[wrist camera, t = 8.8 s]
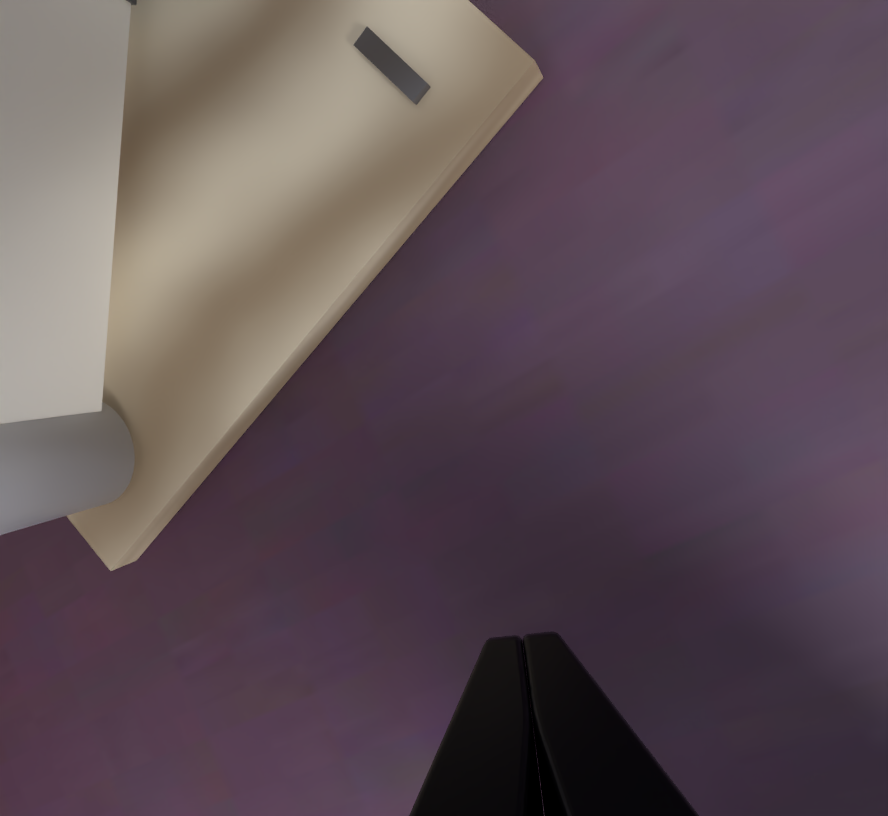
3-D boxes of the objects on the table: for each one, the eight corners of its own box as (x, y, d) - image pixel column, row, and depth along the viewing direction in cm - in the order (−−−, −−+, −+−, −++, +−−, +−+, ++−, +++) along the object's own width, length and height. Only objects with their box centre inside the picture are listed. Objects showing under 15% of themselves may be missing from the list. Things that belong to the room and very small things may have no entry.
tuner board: (543, 77, 18) (532, 56, 17) (136, 560, 25) (103, 573, 23) (178, -254, 21) (142, -297, 20) (-109, 260, 27) (-152, 255, 26)
